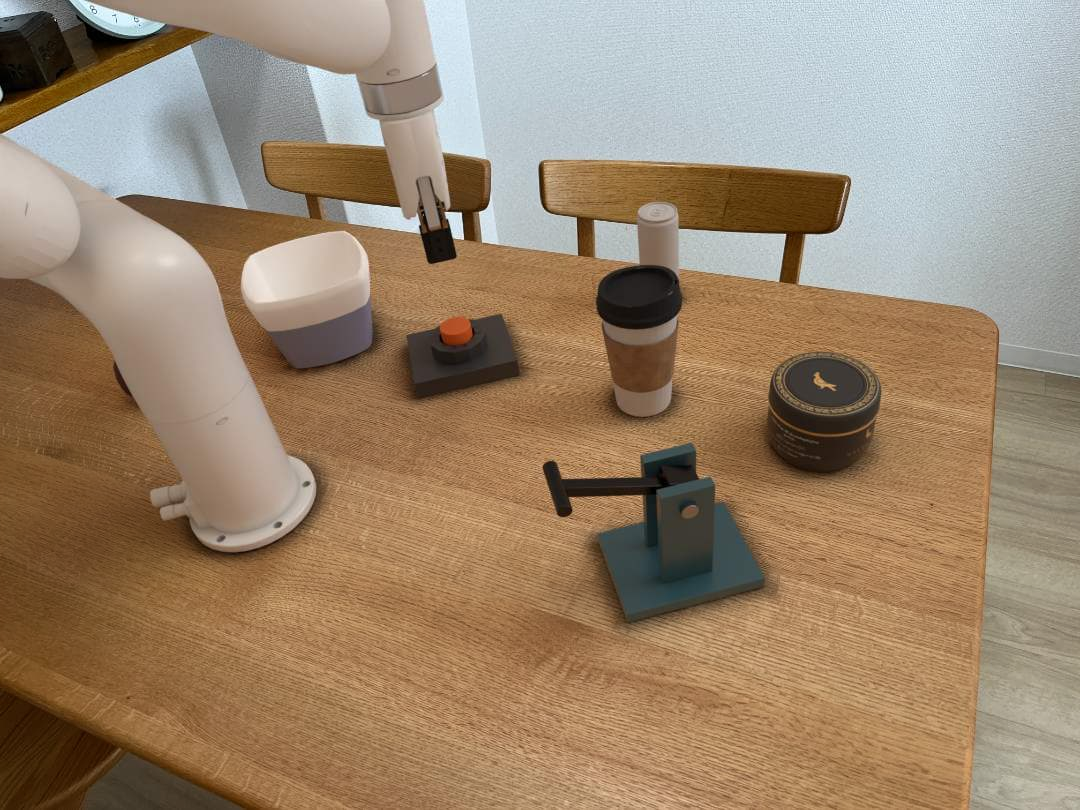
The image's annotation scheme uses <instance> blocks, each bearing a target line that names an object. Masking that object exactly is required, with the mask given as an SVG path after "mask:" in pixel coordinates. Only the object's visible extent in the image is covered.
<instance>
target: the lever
mask: <svg viewBox="0 0 1080 810" xmlns="http://www.w3.org/2000/svg"><path fill="white" fill-rule="evenodd" d="M541 468H542V471H543V475H544V478H545V481H546V484H547V487H548V490H549V493H550V496H551V500H552V502H553V507H554V509H555V513H556V515H557V516H558V517H560V518H566V517H569V516H571V515H572V514H573V510H574V509H573V505H572V503H571V501H570V498H593V497H594V498H596V497H597V498H598V497H627V496H629V497H631V496H642V495H656V490H658V489H662V488H666V487H670V486H674V485H678V484H682V483H686V482H690V481H694V480H698V479H700V477H699V475H698V473H697V470H696V471H695V469H694V468H693V466H692V465H665V466H660V469H659V471H658V474H657V477H641V476H638V477H636V476H634V477H633V476H632V477H631V476H630V477H593V478H592V477H591V478H590V477H589V478H587V477H586V478H585V477H584V478H563V477H562V473H561V471H560V467H559V466H558V462H556V461H555V460H548V461H546V462H544V463H543V464H542V467H541Z"/></svg>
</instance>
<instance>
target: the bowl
mask: <svg viewBox="0 0 1080 810" xmlns="http://www.w3.org/2000/svg"><path fill="white" fill-rule="evenodd" d="M370 276H371V275H370V262H369V256H368V254H367V252H366V250H365V248H364V247H363V246H362V244H361V243H360V242H359V240H358V239H357V238H356V237H355V236H353V234H350V233H349V232H347V231H345V230H339V231H338V230H337V231H328V232H322V233H316V234H313V235H308V236H307V235H306V236H303V237H299V238H294V239H291V240H288V241H284V242H281V243H278V244H275V245H272V246H269V247H266V248H264V249H261V250H259V251H257V252H255V253H252V254H250V255H249V256H248V258H247V259H246V261H245V263H244V265H243V269H242V272H241V276H240V277H241V278H240V292H241V297H242V300H243V302H244V304H245V306H246V308H247V309H248V310H249V312H250V313H251V315H253V317H254V318H255V320H256V321H257V322H258V323H259V324H260V326H261V327H262V328H263V330H264V331H265V332H266V334H267V335H268V337H270V339H271V340H272V342H273V343H274V344H275V346H276V347H277V348H278V350H279V351H280V352H281V353H282V355H283V356H284V357H285V359H286V360H287V362H288V363H289V364H290V365H291V366H292V367H293V368H295V369H309V368H314V367H321V366H327V365H331V364H334V363H337V362H340V361H343V360H346V359H349V358H351V357H353V356H356V355H358V354H360V353H362V352H364V351H366V350H367V349H369V348H370V347H371V345H372V342H373V334H374V333H373V330H374V329H373V313H372V299H371V278H370Z"/></svg>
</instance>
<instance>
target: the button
mask: <svg viewBox="0 0 1080 810" xmlns="http://www.w3.org/2000/svg"><path fill="white" fill-rule="evenodd" d="M468 319H469V318H467V317H464V316H453V317H449V318H447V319H445V320H443V321H442V322H441V324H440V325H439V326H440V333H441V337H442V341H443V343H444V344H446V345H450V346H457V345H461V344H465V343H466V342H468V341H470V340H471V339H472V336H473V333H472V329H471V324H470V321H469V320H468Z"/></svg>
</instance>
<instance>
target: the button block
mask: <svg viewBox="0 0 1080 810" xmlns="http://www.w3.org/2000/svg"><path fill="white" fill-rule="evenodd" d="M467 319H468V320H469V321H470V324H471V329H472V333H473V336H472V339H471V340H470V341H468V342H466V343H465V344H461V345H457V346H450V345H446V344H444V343H443V341H442V337H441V333H440V325H438V326H436V327H435V328H432V329H427V330H422V331H418V332H413V333H409V334H406V343H407V349H408V354H409V360H410V367H411V373H412V380H413V385H414V389H415V393H416V395H417V399H423V398H426V397H430V396H435V395H439V394H443V393H447V392H452V391H456V390H461V389H465V388H468V387H474V386H477V385H483V384H487V383H490V382H494V381H499V380H504V379H507V378H513V377H517V376H520V375H521V374H520V367H519V362H518V361H519V360H518V358H517V355H516V352H515V348H514V346H513V343H512V340H511V337H510V334H509V331H508V328H507V324H506V322H505V319H504V315H503V313H497V314H493V315H489V316H483V317H479V318H475V319H473V318H467Z"/></svg>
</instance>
